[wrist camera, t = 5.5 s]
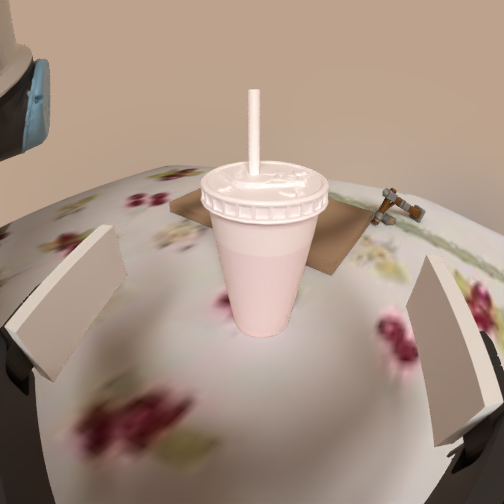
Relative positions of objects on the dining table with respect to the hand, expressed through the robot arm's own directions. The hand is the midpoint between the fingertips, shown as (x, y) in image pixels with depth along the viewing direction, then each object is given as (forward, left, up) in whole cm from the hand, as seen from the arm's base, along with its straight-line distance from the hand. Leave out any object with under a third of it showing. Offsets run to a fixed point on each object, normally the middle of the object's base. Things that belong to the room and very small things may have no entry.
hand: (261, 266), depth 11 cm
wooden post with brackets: (+3, +25, -8) cm, 26 cm away
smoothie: (-2, +4, -8) cm, 9 cm away
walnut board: (-10, +17, -8) cm, 21 cm away
